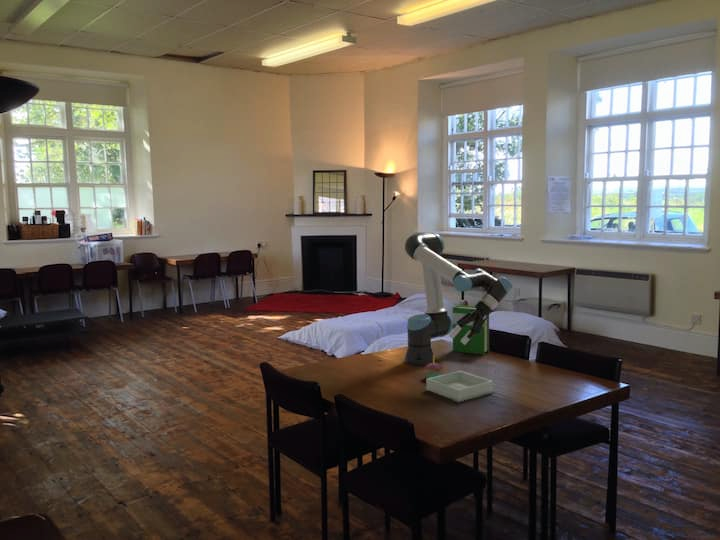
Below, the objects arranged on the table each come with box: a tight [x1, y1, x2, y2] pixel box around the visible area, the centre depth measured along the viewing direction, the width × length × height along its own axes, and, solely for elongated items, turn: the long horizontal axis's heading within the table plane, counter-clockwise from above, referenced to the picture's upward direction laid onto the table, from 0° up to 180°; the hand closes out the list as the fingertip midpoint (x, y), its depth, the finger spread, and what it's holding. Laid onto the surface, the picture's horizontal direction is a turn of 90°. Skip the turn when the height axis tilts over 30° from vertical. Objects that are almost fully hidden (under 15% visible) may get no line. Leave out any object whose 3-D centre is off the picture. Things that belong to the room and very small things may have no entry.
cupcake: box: [424, 353, 444, 378], centre depth 280 cm, size 9×8×12 cm
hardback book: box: [452, 304, 490, 356], centre depth 327 cm, size 18×7×24 cm, turn 58°
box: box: [425, 370, 494, 403], centre depth 261 cm, size 20×20×5 cm
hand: (456, 339), depth 281 cm, fingers open, 13 cm apart
